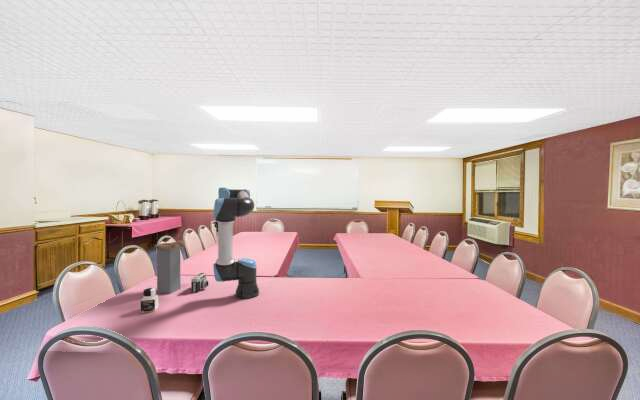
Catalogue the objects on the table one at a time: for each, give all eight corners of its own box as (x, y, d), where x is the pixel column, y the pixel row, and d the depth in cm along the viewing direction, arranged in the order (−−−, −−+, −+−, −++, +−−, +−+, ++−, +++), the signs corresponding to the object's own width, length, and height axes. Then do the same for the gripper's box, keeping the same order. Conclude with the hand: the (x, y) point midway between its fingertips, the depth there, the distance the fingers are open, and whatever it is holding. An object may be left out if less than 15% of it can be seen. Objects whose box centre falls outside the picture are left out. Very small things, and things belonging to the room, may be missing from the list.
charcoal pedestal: (167, 287, 201) (167, 245, 200) (180, 288, 199) (180, 245, 198) (157, 292, 191) (156, 248, 190) (170, 293, 189) (170, 248, 188)
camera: (203, 292, 191) (202, 278, 191) (190, 292, 191) (190, 278, 191) (211, 286, 205) (211, 272, 205) (200, 286, 205) (199, 272, 205)
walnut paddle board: (175, 243, 209) (175, 240, 209) (189, 243, 207) (189, 241, 207) (153, 248, 188) (153, 245, 188) (168, 249, 186) (168, 246, 186)
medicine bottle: (140, 312, 159) (140, 291, 158) (144, 307, 165) (144, 287, 165) (154, 311, 160) (154, 290, 160) (158, 306, 167) (158, 286, 167)
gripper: (227, 208, 231) (227, 234, 230) (209, 207, 207) (209, 237, 206) (236, 208, 230) (235, 234, 229) (218, 207, 205) (218, 237, 204)
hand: (223, 235), depth 217 cm, fingers open, 13 cm apart
